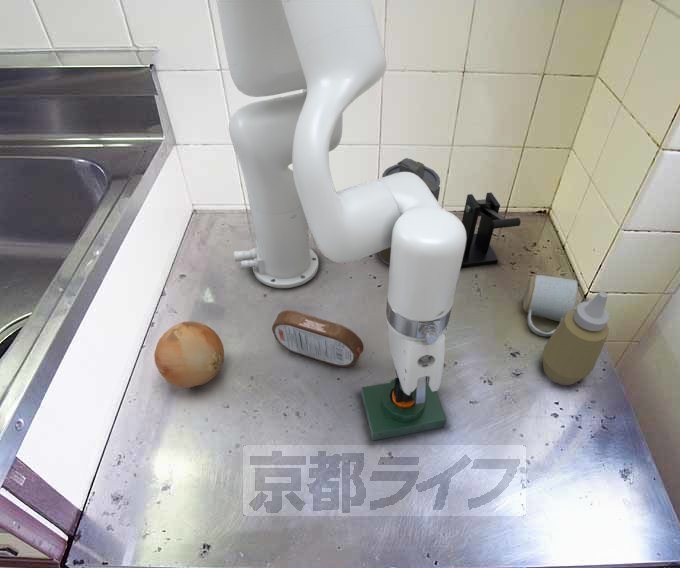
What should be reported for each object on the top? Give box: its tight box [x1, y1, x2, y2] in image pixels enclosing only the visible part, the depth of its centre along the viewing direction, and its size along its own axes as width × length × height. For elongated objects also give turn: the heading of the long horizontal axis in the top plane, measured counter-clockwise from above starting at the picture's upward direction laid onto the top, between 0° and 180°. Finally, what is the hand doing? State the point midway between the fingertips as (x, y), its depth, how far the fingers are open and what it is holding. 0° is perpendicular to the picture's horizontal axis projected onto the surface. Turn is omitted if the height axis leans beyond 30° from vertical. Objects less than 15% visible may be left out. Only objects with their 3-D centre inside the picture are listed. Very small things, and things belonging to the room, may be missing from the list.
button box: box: [361, 378, 447, 441], centre depth 70 cm, size 11×8×4 cm
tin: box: [271, 309, 364, 368], centre depth 75 cm, size 15×3×8 cm, turn 71°
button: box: [391, 390, 415, 409], centre depth 69 cm, size 4×4×2 cm
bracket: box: [461, 192, 501, 269], centre depth 94 cm, size 9×8×13 cm
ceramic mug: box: [522, 274, 579, 337], centre depth 84 cm, size 11×8×8 cm
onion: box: [153, 320, 225, 388], centre depth 71 cm, size 10×10×10 cm
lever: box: [476, 198, 522, 230], centre depth 86 cm, size 12×5×2 cm, turn 14°
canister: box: [377, 157, 441, 267], centre depth 90 cm, size 11×10×20 cm
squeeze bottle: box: [542, 291, 610, 386], centre depth 72 cm, size 8×8×18 cm
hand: (405, 396), depth 69 cm, fingers closed
